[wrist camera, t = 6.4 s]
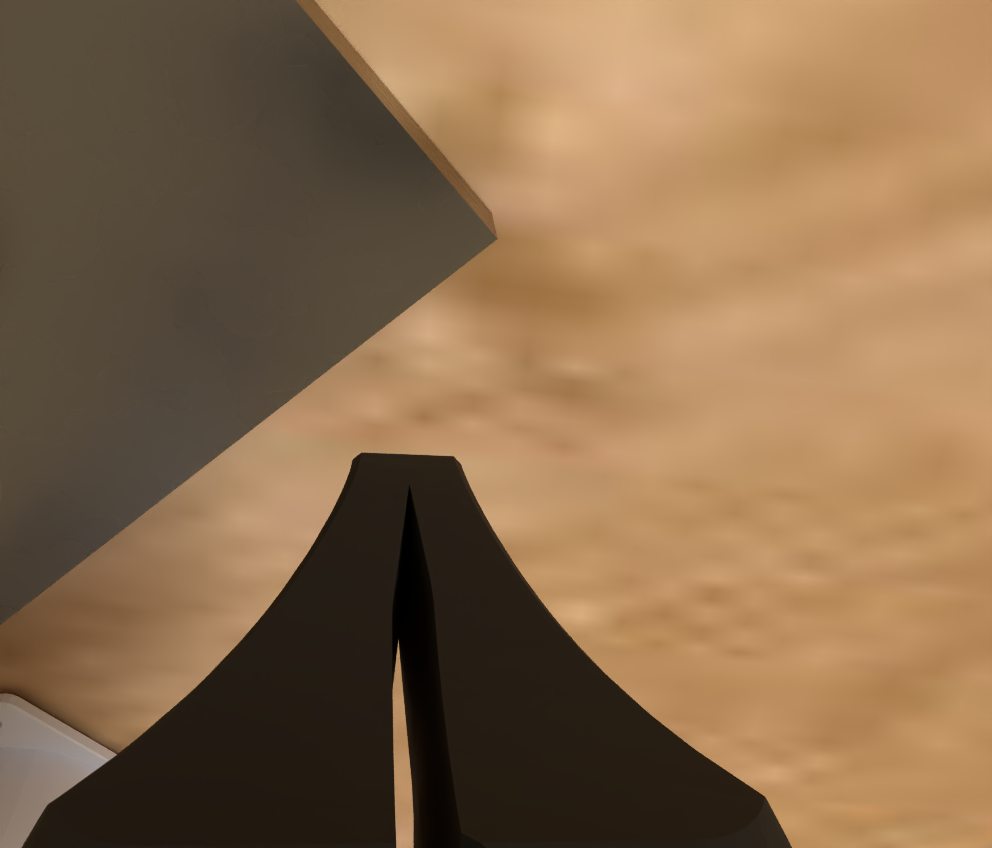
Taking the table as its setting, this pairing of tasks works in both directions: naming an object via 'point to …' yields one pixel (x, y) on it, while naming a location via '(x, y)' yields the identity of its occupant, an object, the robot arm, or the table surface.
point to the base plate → (188, 246)
